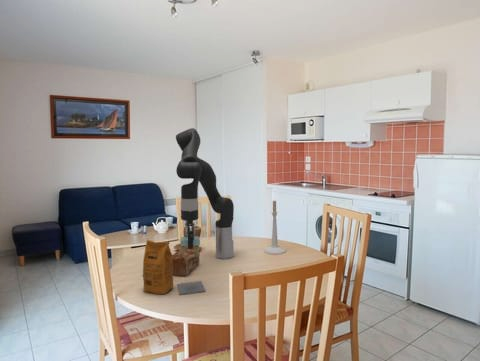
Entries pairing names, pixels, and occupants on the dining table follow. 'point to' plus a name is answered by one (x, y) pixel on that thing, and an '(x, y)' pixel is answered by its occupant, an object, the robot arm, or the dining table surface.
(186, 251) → the bread
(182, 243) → the blue block with pegs
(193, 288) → the mat
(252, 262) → the dining table surface
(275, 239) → the candlestick
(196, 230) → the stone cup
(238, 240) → the dining table surface
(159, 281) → the coffee package
